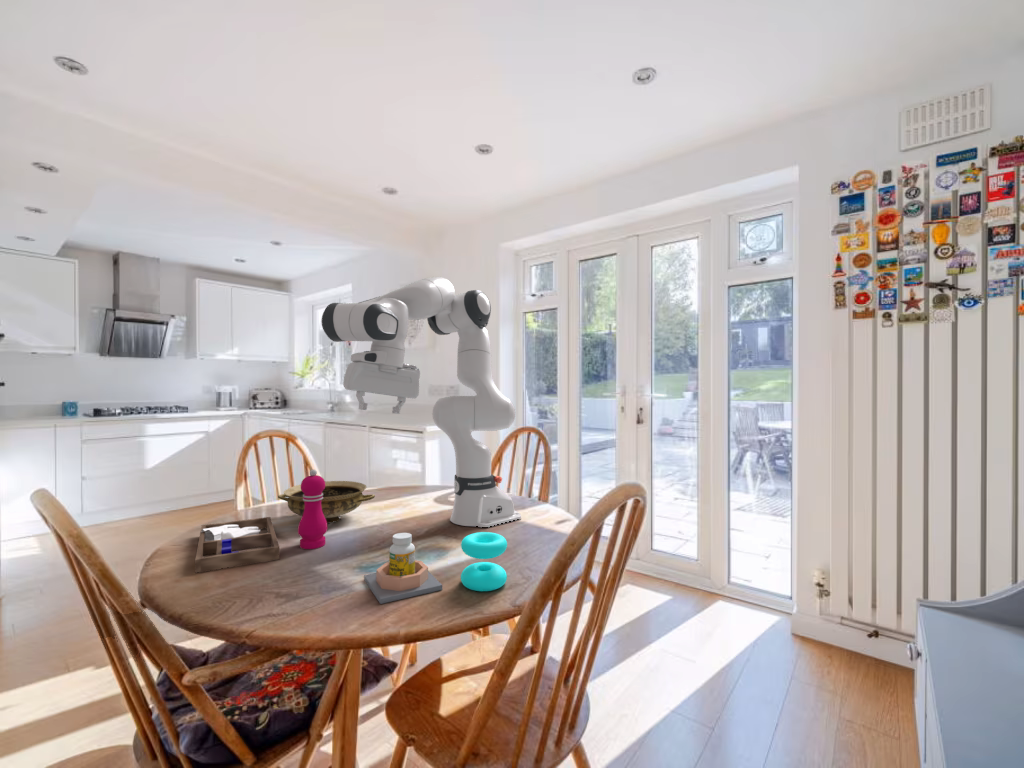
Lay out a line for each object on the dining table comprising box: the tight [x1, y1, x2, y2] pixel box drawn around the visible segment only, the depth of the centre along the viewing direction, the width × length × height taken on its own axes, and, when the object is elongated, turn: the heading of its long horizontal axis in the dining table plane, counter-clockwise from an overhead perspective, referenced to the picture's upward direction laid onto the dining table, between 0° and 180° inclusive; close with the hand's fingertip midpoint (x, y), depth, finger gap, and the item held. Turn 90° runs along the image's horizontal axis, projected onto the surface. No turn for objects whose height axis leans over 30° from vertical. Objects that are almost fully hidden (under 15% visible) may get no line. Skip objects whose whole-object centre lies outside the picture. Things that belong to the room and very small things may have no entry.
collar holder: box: [363, 559, 443, 605], centre depth 102 cm, size 13×13×4 cm
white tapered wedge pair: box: [200, 525, 261, 542], centre depth 128 cm, size 12×4×11 cm
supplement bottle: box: [388, 532, 416, 577], centre depth 102 cm, size 5×5×10 cm
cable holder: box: [222, 539, 240, 554], centre depth 115 cm, size 8×4×4 cm, turn 31°
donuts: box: [460, 531, 508, 592], centre depth 103 cm, size 10×10×10 cm
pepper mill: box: [297, 469, 328, 550], centre depth 125 cm, size 7×7×20 cm
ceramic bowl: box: [277, 480, 376, 524], centre depth 148 cm, size 30×24×10 cm
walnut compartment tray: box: [194, 516, 280, 574], centre depth 124 cm, size 17×29×3 cm, turn 31°
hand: (379, 411), depth 125 cm, fingers open, 8 cm apart
